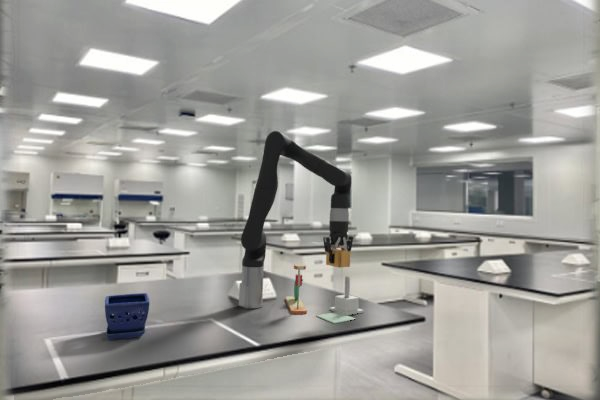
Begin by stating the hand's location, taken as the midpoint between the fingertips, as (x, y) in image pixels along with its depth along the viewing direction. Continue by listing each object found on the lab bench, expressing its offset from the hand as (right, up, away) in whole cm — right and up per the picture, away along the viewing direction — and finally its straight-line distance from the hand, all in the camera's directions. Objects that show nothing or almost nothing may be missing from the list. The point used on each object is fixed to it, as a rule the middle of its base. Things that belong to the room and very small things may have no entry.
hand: (337, 262), depth 158 cm
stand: (+5, -22, +10) cm, 25 cm away
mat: (-1, -22, 0) cm, 22 cm away
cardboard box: (0, -1, 0) cm, 1 cm away
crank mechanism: (-17, -22, +16) cm, 32 cm away
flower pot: (-72, -20, -27) cm, 79 cm away
